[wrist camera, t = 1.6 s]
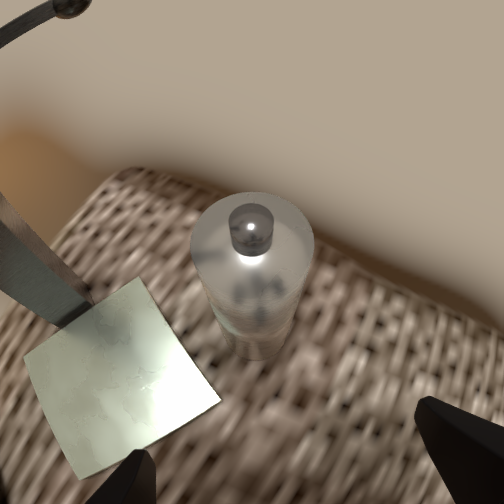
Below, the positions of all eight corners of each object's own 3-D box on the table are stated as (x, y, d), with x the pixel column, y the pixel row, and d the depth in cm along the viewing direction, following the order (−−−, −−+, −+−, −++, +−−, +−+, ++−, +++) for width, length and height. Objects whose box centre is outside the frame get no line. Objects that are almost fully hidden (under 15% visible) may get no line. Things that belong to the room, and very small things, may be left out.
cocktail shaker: (290, 357, 22) (331, 276, 10) (226, 362, 22) (181, 288, 9) (283, 299, 24) (305, 169, 12) (223, 304, 24) (186, 178, 12)
